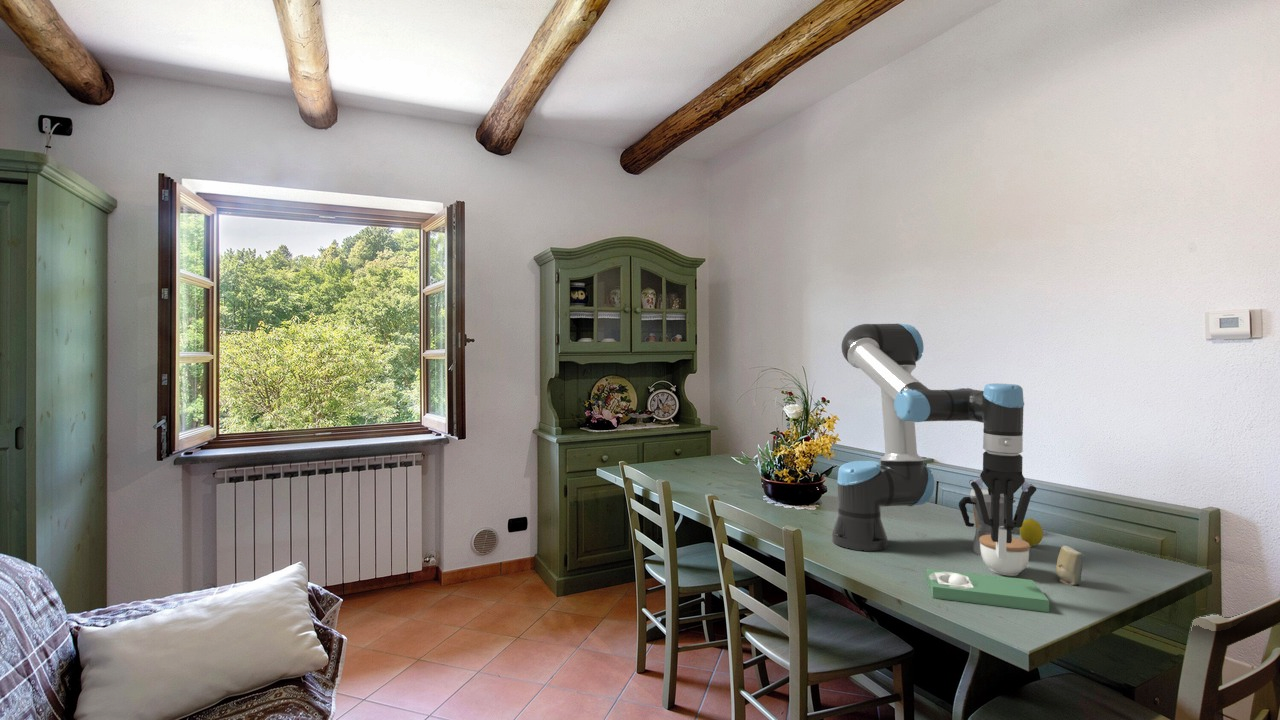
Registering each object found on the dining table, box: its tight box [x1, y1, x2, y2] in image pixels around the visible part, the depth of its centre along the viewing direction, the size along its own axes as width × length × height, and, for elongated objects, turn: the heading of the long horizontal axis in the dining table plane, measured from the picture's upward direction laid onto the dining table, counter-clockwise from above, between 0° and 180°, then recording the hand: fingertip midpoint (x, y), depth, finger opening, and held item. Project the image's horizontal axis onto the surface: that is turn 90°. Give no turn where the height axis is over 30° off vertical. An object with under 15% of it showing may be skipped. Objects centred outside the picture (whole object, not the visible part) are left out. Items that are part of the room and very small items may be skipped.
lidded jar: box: [979, 535, 1031, 577], centre depth 144 cm, size 11×11×9 cm
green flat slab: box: [925, 568, 1050, 613], centre depth 130 cm, size 22×12×2 cm, turn 70°
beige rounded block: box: [1055, 545, 1085, 587], centre depth 137 cm, size 6×5×8 cm
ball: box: [948, 574, 968, 585], centre depth 132 cm, size 4×4×4 cm
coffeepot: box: [958, 488, 1016, 556], centre depth 158 cm, size 15×9×18 cm, turn 90°
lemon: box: [1019, 517, 1044, 547], centre depth 164 cm, size 6×6×8 cm
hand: (1000, 556), depth 130 cm, fingers closed
